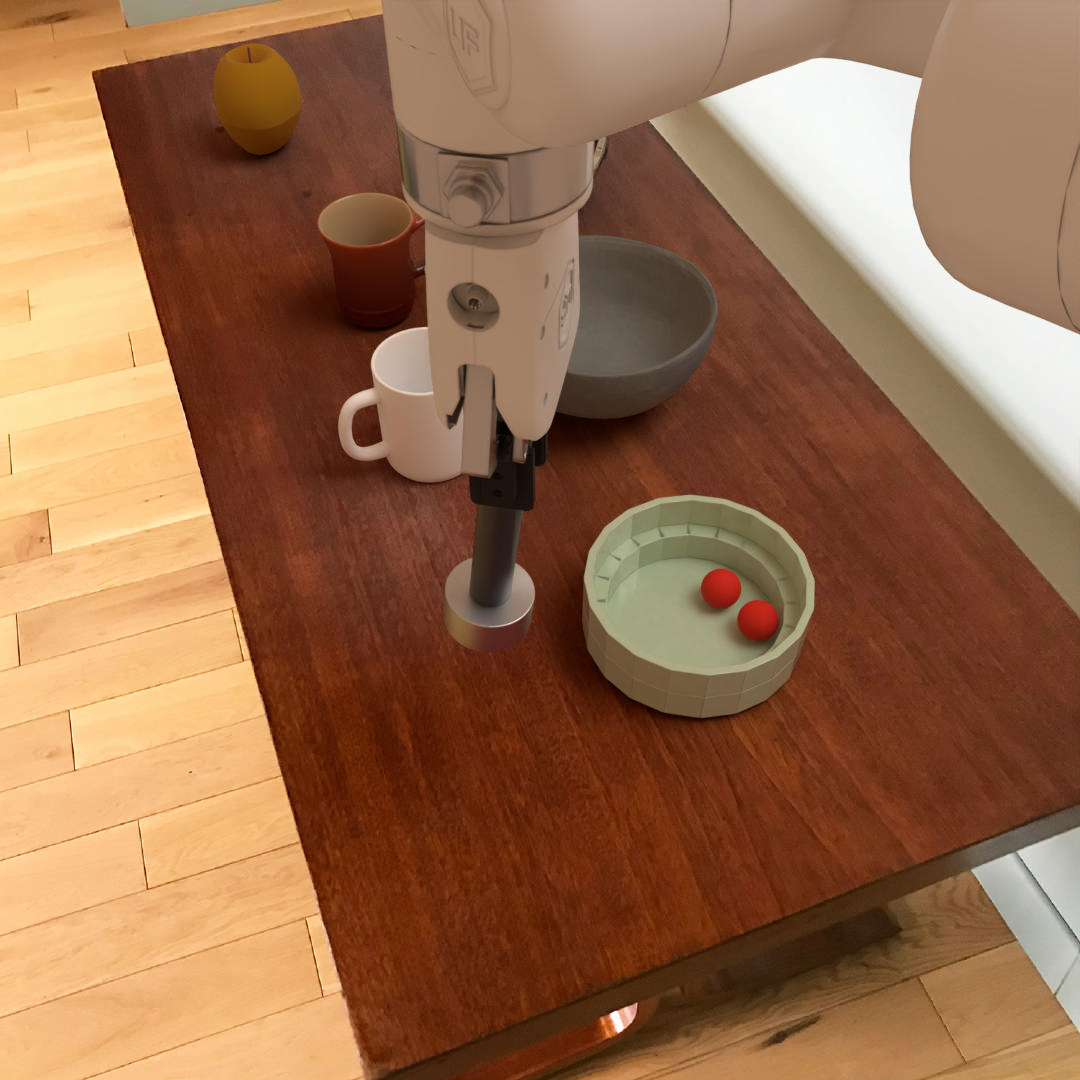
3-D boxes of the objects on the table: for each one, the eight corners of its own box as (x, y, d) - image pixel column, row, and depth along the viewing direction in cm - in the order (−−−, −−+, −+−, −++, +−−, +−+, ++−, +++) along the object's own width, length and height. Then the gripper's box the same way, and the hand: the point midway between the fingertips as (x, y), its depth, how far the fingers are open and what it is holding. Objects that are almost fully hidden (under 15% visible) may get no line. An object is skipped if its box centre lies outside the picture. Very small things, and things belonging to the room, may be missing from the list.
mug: (345, 347, 105) (328, 255, 97) (324, 293, 111) (307, 202, 103) (466, 319, 108) (460, 228, 100) (440, 268, 113) (432, 178, 105)
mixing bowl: (797, 737, 78) (812, 690, 73) (567, 703, 79) (568, 655, 75) (802, 560, 88) (816, 509, 83) (599, 534, 90) (601, 483, 85)
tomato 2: (774, 651, 82) (781, 627, 79) (733, 646, 82) (738, 621, 80) (776, 619, 83) (782, 594, 81) (735, 613, 84) (741, 589, 82)
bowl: (752, 407, 99) (769, 318, 92) (559, 496, 93) (560, 407, 85) (624, 290, 111) (630, 201, 103) (444, 361, 104) (435, 272, 96)
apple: (295, 174, 125) (276, 73, 116) (212, 167, 126) (187, 66, 117) (320, 129, 131) (303, 30, 122) (240, 123, 132) (218, 24, 123)
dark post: (532, 653, 65) (570, 440, 51) (442, 652, 64) (457, 436, 51) (529, 582, 68) (564, 364, 54) (443, 580, 67) (457, 359, 54)
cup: (497, 464, 95) (493, 373, 87) (367, 514, 91) (350, 424, 84) (455, 406, 100) (447, 315, 92) (330, 452, 96) (311, 361, 88)
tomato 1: (716, 589, 86) (747, 604, 84) (691, 605, 84) (723, 621, 82) (718, 556, 85) (751, 571, 83) (693, 572, 83) (726, 587, 81)
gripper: (554, 284, 37) (553, 616, 51) (623, 59, 48) (606, 386, 61) (339, 260, 38) (395, 592, 52) (452, 45, 48) (474, 370, 62)
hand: (509, 478), depth 57 cm, fingers closed on dark post, 2 cm apart
